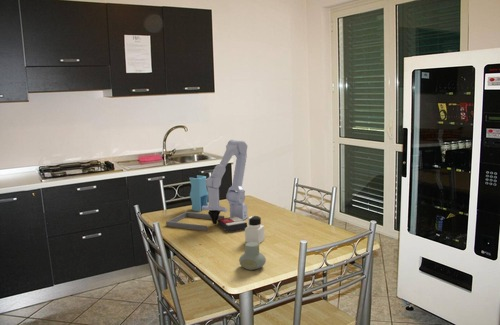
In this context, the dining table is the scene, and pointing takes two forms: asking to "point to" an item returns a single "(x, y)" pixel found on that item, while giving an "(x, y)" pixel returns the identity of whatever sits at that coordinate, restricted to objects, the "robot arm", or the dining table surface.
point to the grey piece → (174, 223)
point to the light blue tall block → (198, 193)
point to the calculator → (232, 224)
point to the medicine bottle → (254, 230)
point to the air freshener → (252, 257)
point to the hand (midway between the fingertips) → (214, 223)
